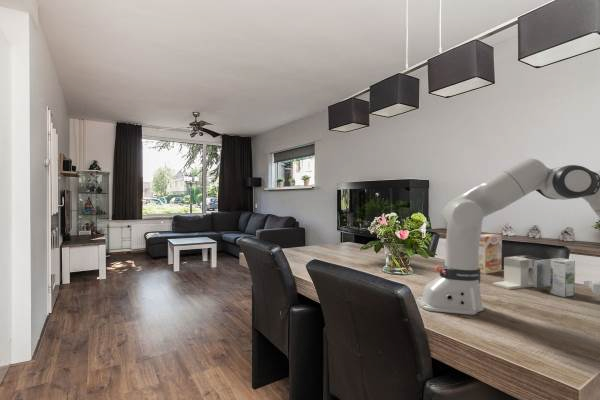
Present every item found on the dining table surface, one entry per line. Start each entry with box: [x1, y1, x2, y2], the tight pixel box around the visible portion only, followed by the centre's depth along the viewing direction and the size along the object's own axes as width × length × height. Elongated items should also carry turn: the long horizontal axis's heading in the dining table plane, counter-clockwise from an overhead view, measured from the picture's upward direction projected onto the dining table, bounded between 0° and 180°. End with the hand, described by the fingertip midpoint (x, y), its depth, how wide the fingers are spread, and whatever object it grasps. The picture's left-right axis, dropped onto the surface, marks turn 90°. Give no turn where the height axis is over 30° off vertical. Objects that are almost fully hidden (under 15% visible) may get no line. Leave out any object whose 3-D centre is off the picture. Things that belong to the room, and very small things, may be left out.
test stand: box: [492, 255, 535, 290], centre depth 149 cm, size 8×26×12 cm, turn 109°
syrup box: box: [549, 257, 576, 298], centre depth 133 cm, size 6×6×14 cm
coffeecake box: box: [479, 233, 503, 275], centre depth 176 cm, size 15×7×20 cm, turn 119°
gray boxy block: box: [524, 255, 552, 288], centre depth 144 cm, size 10×12×11 cm
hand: (593, 282), depth 123 cm, fingers open, 8 cm apart
